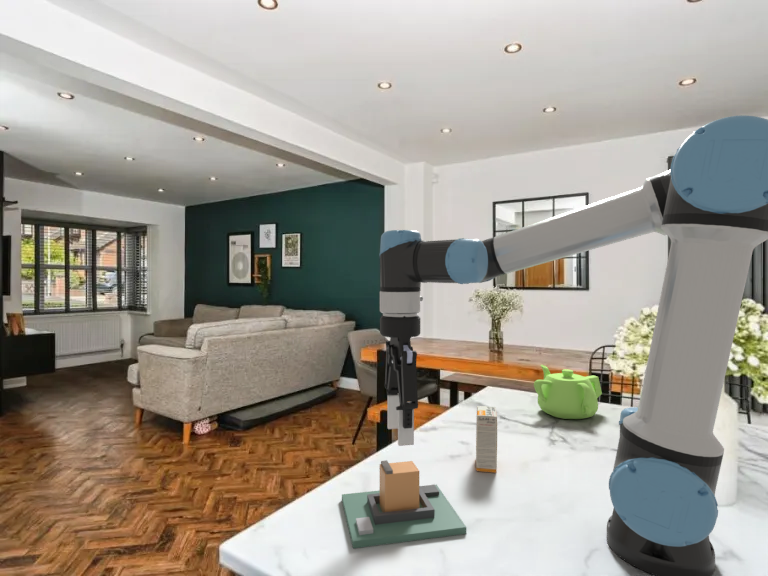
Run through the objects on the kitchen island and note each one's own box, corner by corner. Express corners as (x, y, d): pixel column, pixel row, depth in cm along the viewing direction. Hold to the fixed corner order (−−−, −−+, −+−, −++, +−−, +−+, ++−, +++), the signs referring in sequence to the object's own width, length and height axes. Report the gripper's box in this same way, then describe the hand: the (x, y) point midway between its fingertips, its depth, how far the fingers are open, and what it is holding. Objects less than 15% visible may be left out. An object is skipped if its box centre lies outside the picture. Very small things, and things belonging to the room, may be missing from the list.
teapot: (594, 427, 132) (594, 379, 132) (526, 415, 143) (526, 371, 143) (602, 410, 148) (602, 368, 148) (540, 401, 159) (540, 361, 158)
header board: (466, 533, 78) (466, 518, 77) (353, 548, 73) (353, 532, 73) (436, 490, 93) (436, 477, 93) (341, 500, 89) (341, 487, 89)
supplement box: (497, 473, 101) (498, 416, 101) (476, 471, 102) (476, 415, 102) (495, 458, 109) (496, 406, 109) (475, 457, 110) (476, 405, 110)
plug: (419, 513, 82) (419, 467, 82) (385, 518, 80) (385, 471, 80) (412, 501, 86) (412, 457, 86) (379, 505, 85) (379, 461, 84)
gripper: (437, 319, 73) (437, 456, 73) (405, 309, 93) (405, 417, 94) (393, 320, 71) (393, 460, 72) (370, 310, 92) (370, 419, 92)
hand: (399, 435), depth 83 cm, fingers open, 8 cm apart
